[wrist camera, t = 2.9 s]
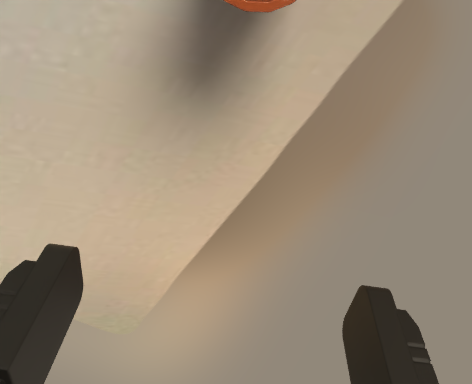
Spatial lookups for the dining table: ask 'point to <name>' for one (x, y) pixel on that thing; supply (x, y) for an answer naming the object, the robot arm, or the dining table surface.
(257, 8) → the cup
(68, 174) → the dining table surface
